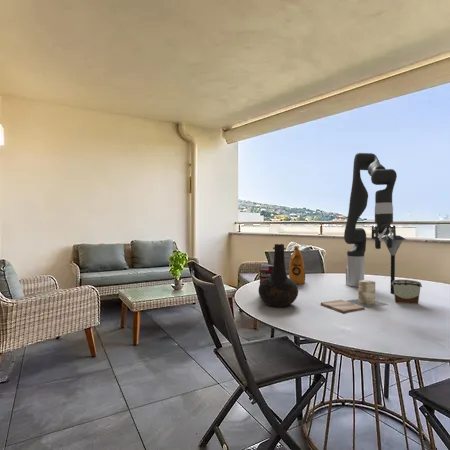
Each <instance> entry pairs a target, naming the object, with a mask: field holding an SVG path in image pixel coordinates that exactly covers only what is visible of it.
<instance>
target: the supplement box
mask: <svg viewBox="0 0 450 450" xmlns="http://www.w3.org/2000/svg"><path fill="white" fill-rule="evenodd" d="M272 270H273V264H263V263H261V264H260V265H259V284H260V283H261V282H262V281H263V280H265V279H267V278H269V277H270V276H271V274H272Z"/></svg>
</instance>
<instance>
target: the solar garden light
mask: <svg viewBox="0 0 450 450" xmlns="http://www.w3.org/2000/svg"><path fill="white" fill-rule="evenodd" d="M392 236H393V235H392ZM381 240H383V241H384V244H385V246H386V247H387V240H388V239H387V238H386V236H385V235H383V237H382V238H381ZM403 241H407V238H405V237H403V236H401V235H397V234H396V238H394V239H393V240H392V242H393V246H392V248H387V249H388V252H389V254H390V294H394V287H393V285H392V282H393V280H396V277H395V276H396V273H395V272H396V254H397V252H398V250H399V249H400V246H401V244H402V243H403Z"/></svg>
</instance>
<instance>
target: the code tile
mask: <svg viewBox="0 0 450 450" xmlns="http://www.w3.org/2000/svg"><path fill="white" fill-rule="evenodd" d="M346 301H347V302H350V303H353V304H356V305H359V306H362V307H365V308H367V309H371V308H377V307H382V306H383V307H385V306H389V304H388V303H386V302H380V301H378V300H375V303H374V304H368V305H367V304H363V303H360V302H359V298H356V299H350V300H346Z"/></svg>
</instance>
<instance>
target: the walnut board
mask: <svg viewBox="0 0 450 450" xmlns="http://www.w3.org/2000/svg"><path fill="white" fill-rule="evenodd" d="M347 301H348V300H343V299H337V300H336V299H335V300H329V301H324V302H320V306H323V307H325V308H328V309H331V310H332V311H333V310H334V311H336V312H338V313H342V314H346V313H350V312H356V311H357V312H358V311H362V310H365V308H366V307H363V306H359V305H356V304H353V303H350V302H347Z"/></svg>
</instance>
